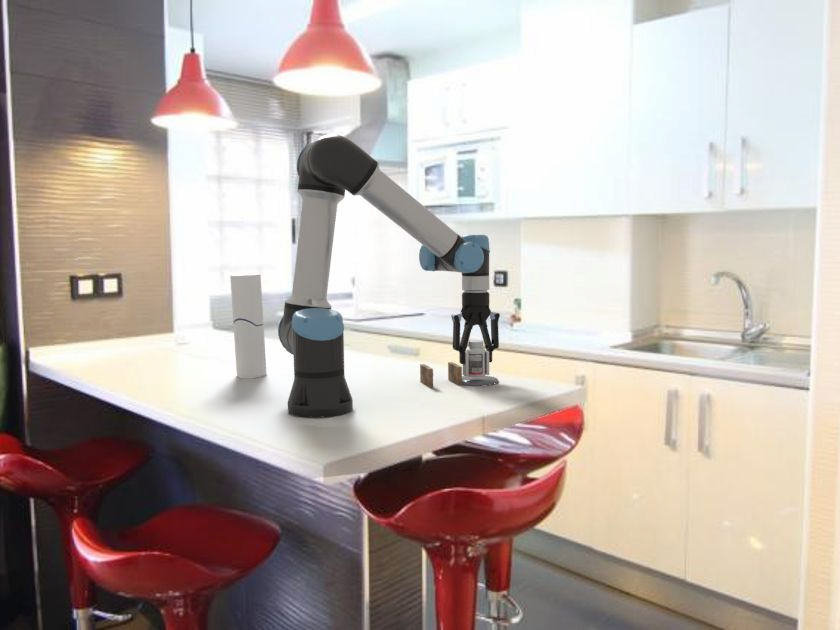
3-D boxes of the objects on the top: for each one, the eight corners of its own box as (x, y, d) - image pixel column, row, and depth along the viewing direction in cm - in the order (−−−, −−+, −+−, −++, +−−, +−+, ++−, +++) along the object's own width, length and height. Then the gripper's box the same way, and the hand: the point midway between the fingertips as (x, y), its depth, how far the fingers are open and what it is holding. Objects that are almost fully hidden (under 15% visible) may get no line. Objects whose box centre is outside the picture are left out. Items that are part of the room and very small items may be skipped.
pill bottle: (472, 373, 198) (472, 339, 197) (489, 375, 195) (489, 340, 194) (462, 376, 193) (462, 341, 192) (479, 378, 190) (479, 342, 189)
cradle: (462, 385, 190) (461, 366, 189) (428, 387, 187) (428, 369, 187) (452, 379, 198) (452, 362, 197) (420, 381, 195) (420, 364, 194)
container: (257, 378, 203) (250, 275, 199) (231, 377, 205) (224, 275, 201) (271, 372, 211) (265, 273, 207) (246, 371, 213) (240, 273, 209)
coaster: (504, 384, 190) (504, 382, 190) (463, 387, 187) (463, 385, 187) (488, 376, 202) (488, 374, 202) (448, 379, 198) (448, 377, 198)
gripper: (501, 289, 198) (501, 370, 200) (439, 291, 192) (440, 374, 195) (512, 291, 191) (512, 375, 193) (448, 293, 185) (448, 379, 188)
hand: (475, 374), depth 194 cm, fingers closed on pill bottle, 5 cm apart
